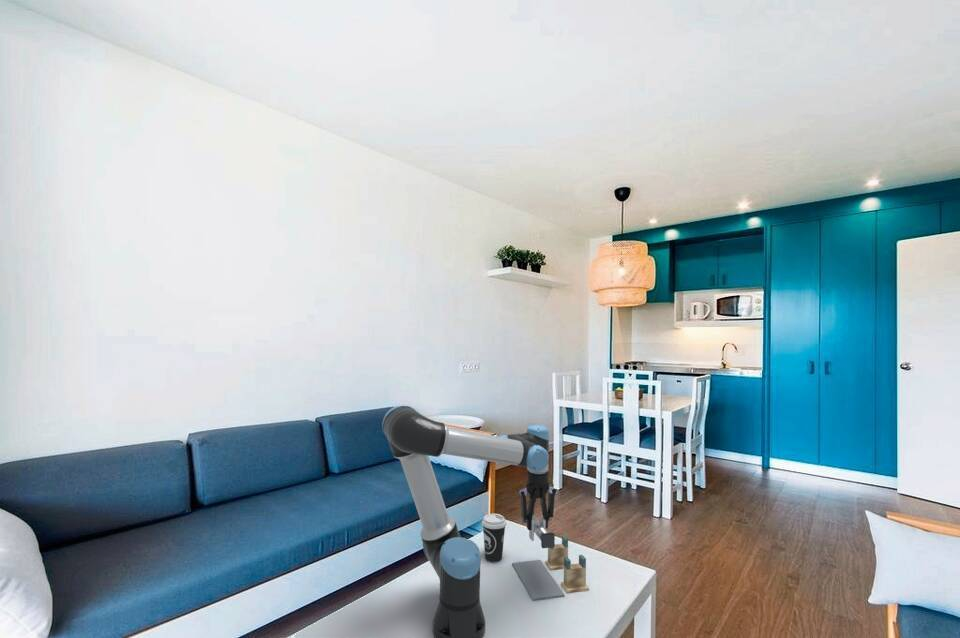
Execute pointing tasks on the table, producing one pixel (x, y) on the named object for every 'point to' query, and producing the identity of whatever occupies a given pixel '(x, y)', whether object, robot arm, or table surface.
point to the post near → (574, 575)
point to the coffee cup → (493, 536)
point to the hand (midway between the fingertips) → (537, 538)
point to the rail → (542, 533)
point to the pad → (537, 580)
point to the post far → (557, 555)
